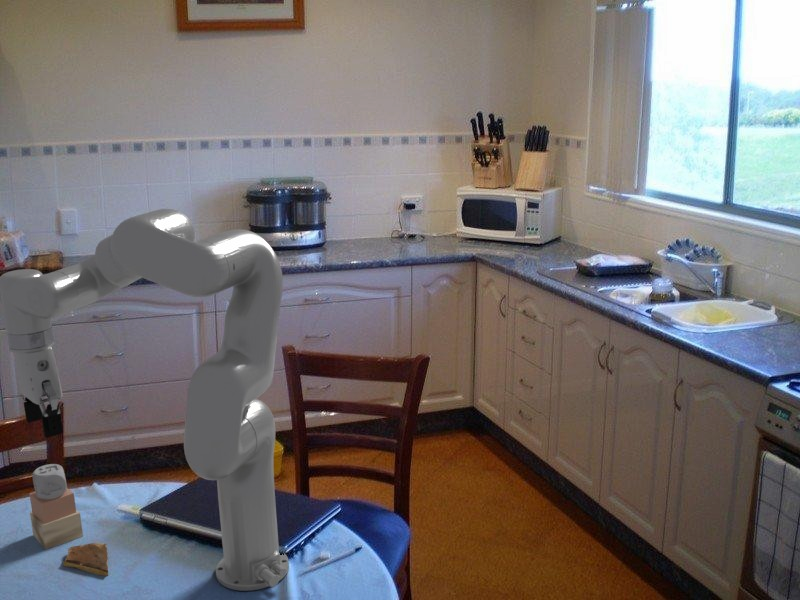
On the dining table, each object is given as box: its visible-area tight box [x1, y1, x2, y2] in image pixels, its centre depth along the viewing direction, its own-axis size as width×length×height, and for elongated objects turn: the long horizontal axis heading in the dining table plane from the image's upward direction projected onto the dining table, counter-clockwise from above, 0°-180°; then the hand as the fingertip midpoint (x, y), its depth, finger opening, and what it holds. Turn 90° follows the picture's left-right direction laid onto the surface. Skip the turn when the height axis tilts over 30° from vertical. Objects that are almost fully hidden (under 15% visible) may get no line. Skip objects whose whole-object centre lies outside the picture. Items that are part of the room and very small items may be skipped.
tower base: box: [29, 509, 84, 550], centre depth 166 cm, size 7×7×5 cm
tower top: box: [29, 487, 77, 524], centre depth 164 cm, size 6×6×4 cm
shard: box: [62, 542, 109, 577], centre depth 156 cm, size 11×8×2 cm
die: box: [32, 463, 68, 500], centre depth 163 cm, size 5×5×5 cm
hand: (44, 427), depth 161 cm, fingers open, 9 cm apart
